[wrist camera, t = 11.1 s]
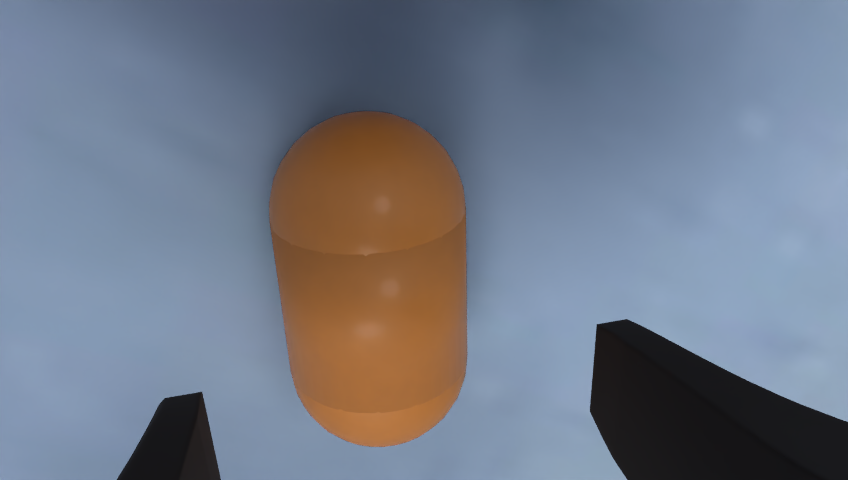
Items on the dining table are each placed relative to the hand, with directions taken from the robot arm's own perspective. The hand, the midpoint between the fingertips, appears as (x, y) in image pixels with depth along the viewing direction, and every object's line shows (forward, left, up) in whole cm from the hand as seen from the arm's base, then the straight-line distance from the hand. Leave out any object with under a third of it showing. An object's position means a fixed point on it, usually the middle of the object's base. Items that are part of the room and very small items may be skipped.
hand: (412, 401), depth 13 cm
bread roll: (0, 0, -7) cm, 7 cm away
